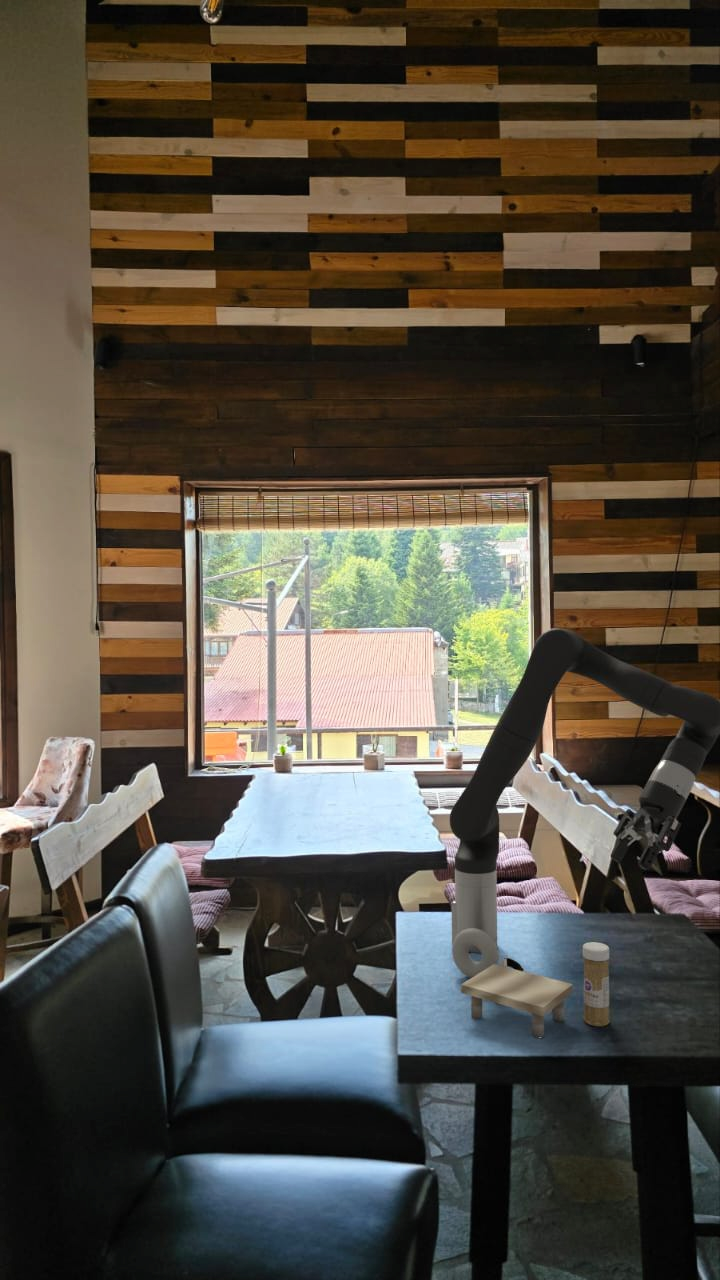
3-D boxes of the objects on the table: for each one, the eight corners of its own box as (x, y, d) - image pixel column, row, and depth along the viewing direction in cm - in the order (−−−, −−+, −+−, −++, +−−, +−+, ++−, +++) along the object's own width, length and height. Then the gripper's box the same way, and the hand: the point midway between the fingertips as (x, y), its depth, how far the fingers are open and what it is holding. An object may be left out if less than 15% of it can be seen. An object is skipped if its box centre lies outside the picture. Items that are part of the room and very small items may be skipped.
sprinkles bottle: (578, 1021, 148) (577, 945, 148) (592, 1013, 151) (591, 939, 151) (601, 1030, 144) (600, 952, 144) (615, 1021, 147) (614, 945, 147)
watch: (497, 968, 173) (496, 951, 173) (519, 968, 173) (519, 951, 173) (503, 983, 165) (503, 965, 165) (527, 983, 165) (526, 965, 165)
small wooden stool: (461, 1018, 150) (461, 984, 150) (494, 995, 159) (493, 964, 159) (543, 1043, 140) (543, 1007, 140) (573, 1017, 149) (572, 984, 149)
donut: (502, 980, 166) (501, 930, 166) (495, 986, 163) (494, 935, 163) (456, 970, 171) (456, 922, 171) (449, 976, 168) (448, 927, 169)
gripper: (630, 776, 165) (592, 847, 161) (677, 781, 151) (637, 858, 147) (657, 797, 166) (620, 868, 162) (707, 803, 152) (667, 881, 148)
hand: (628, 863), depth 154 cm, fingers open, 8 cm apart
